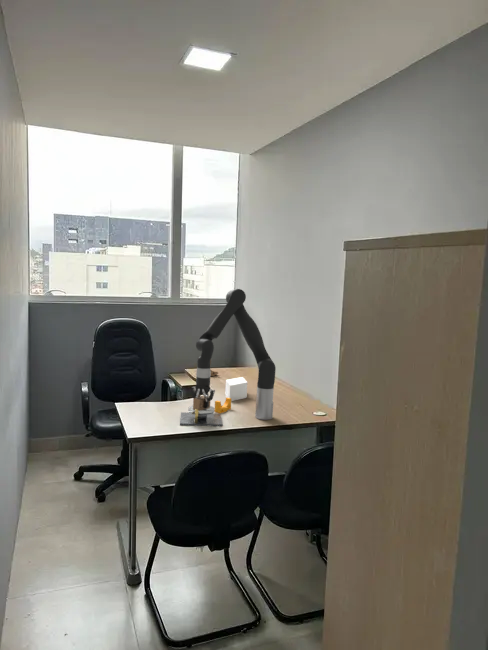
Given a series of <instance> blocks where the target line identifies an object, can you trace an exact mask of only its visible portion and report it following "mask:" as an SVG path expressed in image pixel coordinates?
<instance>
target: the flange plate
mask: <svg viewBox="0 0 488 650" xmlns="http://www.w3.org/2000/svg"><path fill="white" fill-rule="evenodd" d="M192 399H193V402H192V403H193V404H192V405H190V406H189V407H188V413H189V415H194V414H195V409H198V415H207V414H212V413H216V412H215V406H211V401H209V406H208V408H205V398H204V395H200V397H196V398H193V397H192Z"/></svg>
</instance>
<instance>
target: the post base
mask: <svg viewBox="0 0 488 650" xmlns="http://www.w3.org/2000/svg"><path fill="white" fill-rule="evenodd" d="M179 418H180V419H179V426H193V427H194V426H195V427H196V426H197V427H223V424H224V423H223V420H222V419H223V418H222V413H217V412H214V413H212V414H207V415H198V423H195V414H194V415H189V412H187V411H186V412H182V411H181V412H180V417H179Z"/></svg>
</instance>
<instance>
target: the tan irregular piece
mask: <svg viewBox="0 0 488 650" xmlns="http://www.w3.org/2000/svg"><path fill="white" fill-rule="evenodd" d="M211 365H212V363H211V364H210V367H211ZM210 371H211V375H210V377H214V376H217V375H218V374H219V372H218V371H215V370H212V369H210Z"/></svg>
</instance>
